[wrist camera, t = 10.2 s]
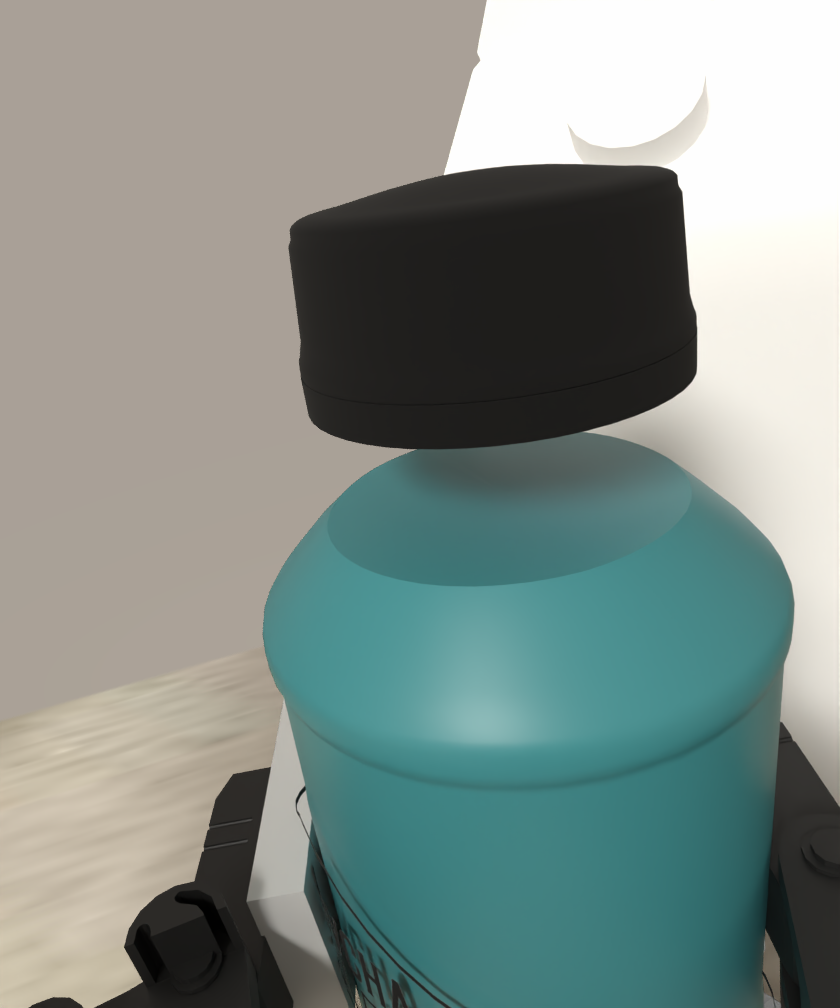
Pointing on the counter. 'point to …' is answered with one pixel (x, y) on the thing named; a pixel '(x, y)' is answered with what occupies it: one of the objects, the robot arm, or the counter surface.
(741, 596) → the beverage bottle
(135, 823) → the counter surface
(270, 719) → the counter surface
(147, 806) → the counter surface
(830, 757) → the milk
